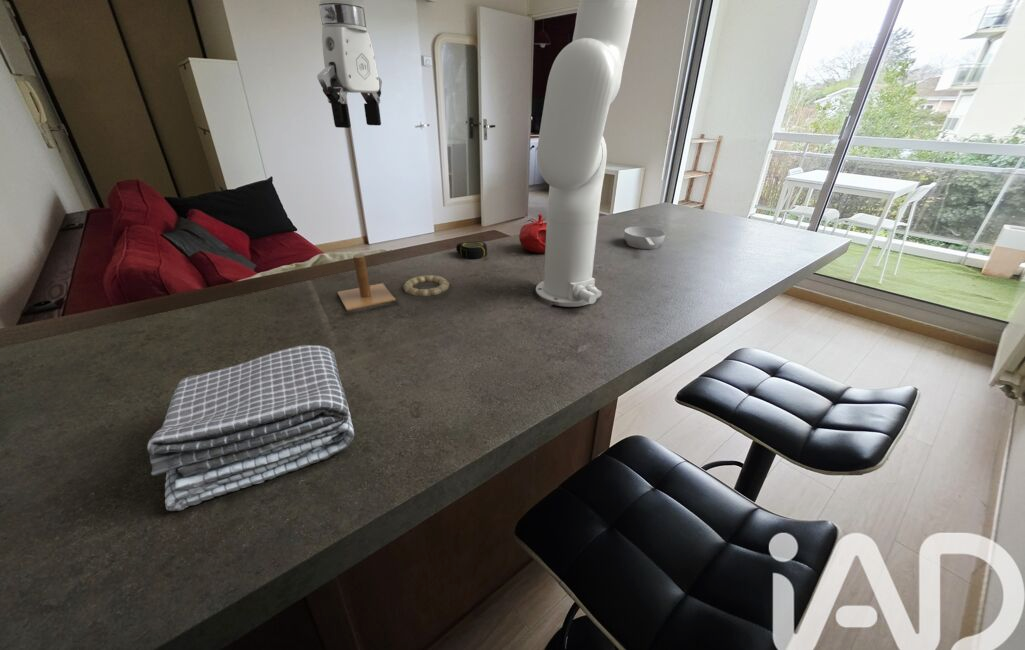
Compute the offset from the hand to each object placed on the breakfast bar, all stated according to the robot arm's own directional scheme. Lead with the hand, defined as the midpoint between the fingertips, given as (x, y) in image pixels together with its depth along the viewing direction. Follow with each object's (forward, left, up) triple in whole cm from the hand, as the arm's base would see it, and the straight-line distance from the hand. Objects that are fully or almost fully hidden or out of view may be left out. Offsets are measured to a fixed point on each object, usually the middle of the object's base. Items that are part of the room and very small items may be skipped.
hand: (359, 126), depth 83 cm
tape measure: (-4, -22, -30) cm, 37 cm away
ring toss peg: (-17, +7, -30) cm, 35 cm away
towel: (-49, +26, -30) cm, 63 cm away
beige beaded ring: (-18, -5, -29) cm, 34 cm away
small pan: (-20, -66, -30) cm, 75 cm away
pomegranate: (-7, -40, -30) cm, 50 cm away
